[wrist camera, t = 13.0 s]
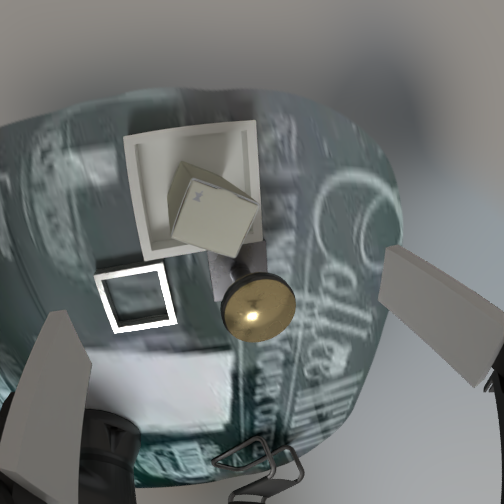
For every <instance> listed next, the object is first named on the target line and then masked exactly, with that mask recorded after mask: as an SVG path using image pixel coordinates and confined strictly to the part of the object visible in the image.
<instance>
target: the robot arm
mask: <svg viewBox="0 0 504 504" xmlns="http://www.w3.org/2000/svg"><path fill="white" fill-rule="evenodd" d="M378 301H379V302H380V303H382V304H383V305H384V306H385V307H386V308H387V309H389V310H390V311H391V312H392V313H393V314H395V316H397V317H398V318H399V319H400V320H401V321H402V322H403V323H404V324H406V325H407V326H408V327H409V328H410V329H411V330H412V331H414V332H415V333H416V334H417V335H418V336H419V337H420V338H421V339H422V340H423V341H425V342H426V343H427V344H428V345H429V346H430V347H431V348H432V349H433V350H434V351H435V352H436V353H437V354H439V355H440V356H441V357H442V358H443V359H444V360H445V361H446V362H447V363H448V364H449V365H451V367H452V368H453V369H455V370H456V371H457V372H458V373H459V374H460V375H461V376H462V377H463V378H464V379H465V380H466V381H467V382H468V383H469V384H470V385H471V386H472V387H473V388H475V387H476V386H477V385H478V384H479V383H480V382H481V381H482V380H484V378H485V377H486V375H487V374H488V372H489V370H490V368H491V367H492V368H493V369H494V371H493V373H492V375H491V376H490V378H489V380H488V381H487V383H486V384H485V386H484V392H486V391H487V389H488V388H489V386H490V385H491V383H493V384H492V386H491V388H490V389H489V392H495V398H496V404H497V411H498V419H499V426H500V437H501V453H502V493H501V504H504V312H503V311H501V310H500V309H499V308H498V307H496V306H495V305H493V304H492V303H490V302H489V301H488V300H486V299H485V298H483V297H482V296H480V295H479V294H477V293H476V292H474V291H473V290H471V289H469V288H468V287H466V286H465V285H463V284H462V283H460V282H459V281H457V280H456V279H454V278H452V277H451V276H449V275H448V274H446V273H445V272H443V271H441V270H440V269H438V268H436V267H435V266H433V265H432V264H430V263H428V262H427V261H425V260H423V259H422V258H420V257H418V256H417V255H415V254H413V253H412V252H410V251H408V250H406V249H405V248H403V247H401V246H399V245H395V246H391V247H386V252H385V260H384V267H383V273H382V280H381V286H380V292H379V297H378ZM91 368H92V363H91V361H90V359H89V357H88V355H87V353H86V351H85V349H84V347H83V345H82V343H81V341H80V339H79V337H78V335H77V333H76V331H75V329H74V327H73V324H72V322H71V320H70V318H69V316H68V313H67V311H66V310H60V311H53V312H50V313H49V315H48V317H47V319H46V321H45V323H44V325H43V327H42V329H41V331H40V333H39V335H38V337H37V340H36V342H35V344H34V346H33V349H32V351H31V353H30V356H29V358H28V360H27V363H26V365H25V368H24V370H23V373H22V375H21V378H20V381H19V383H18V386H17V389H16V392H11V393H10V394H9V396H8V397H7V399H6V400H5V401H4V403H3V405H2V408H1V411H0V504H137V503H136V494H135V484H134V473H133V467H134V464H135V461H136V458H137V455H138V452H139V449H140V446H141V436H140V432H139V430H138V429H137V427H136V426H135V425H133V424H132V423H131V422H129V421H128V420H126V419H124V418H122V417H120V416H117V415H115V414H112V413H108V412H104V411H98V410H84V409H85V402H86V396H87V390H88V384H89V378H90V373H91Z"/></svg>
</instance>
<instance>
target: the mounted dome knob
mask: <svg viewBox="0 0 504 504" xmlns="http://www.w3.org/2000/svg"><path fill="white" fill-rule="evenodd" d="M207 256H208V264H209V270H210V277H211V284H212V290H213V297H214V301H215V302H216V301H221V300H222V302H221V308H220V311H221V317H222V320H223V323H224V325H225V327H226V329H227V330H228V331H229V332H230V333H231V334H232V335H233V336H235V337H236V338H238V339H240V340H242V341H246V342H261V341H265V340H268V339H271V338H273V337H275V336H277V335H278V334H280V333H281V332H282V331H283V330H284V329H285V328H286V327H287V326H288V325H289V324H290V322H291V320H292V319H293V316H294V314H295V308H296V301H295V295H294V293H293V291H292V289H291V288H290V286H289V285H288V284H287V283H286V281H285V280H283V279H282V278H281V277H279V276H277V275H275V274H272V273H267V258H266V241H265V240H264V239H263V241H260V242H254V243H248V244H242V246H241V248H240V250H239V252H238V254H237V256H236V257H235V258H233V257H229V256H225V255H221V254H218V253H215V252H211V251H208V250H207Z"/></svg>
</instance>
